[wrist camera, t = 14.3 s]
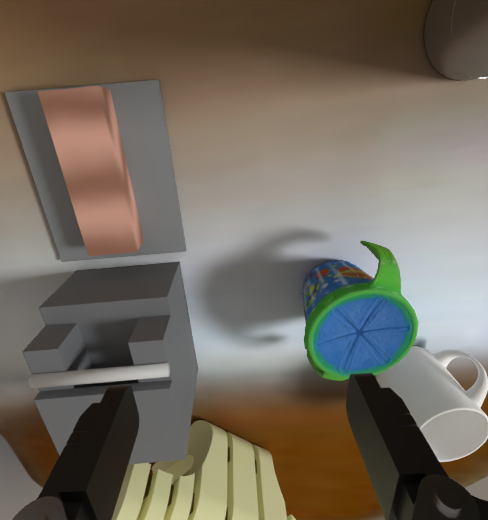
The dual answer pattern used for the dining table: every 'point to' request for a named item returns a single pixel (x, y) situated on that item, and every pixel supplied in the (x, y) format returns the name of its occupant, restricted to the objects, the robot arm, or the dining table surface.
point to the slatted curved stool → (205, 482)
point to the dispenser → (118, 354)
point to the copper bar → (94, 167)
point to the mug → (440, 401)
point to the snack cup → (357, 318)
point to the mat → (137, 158)
